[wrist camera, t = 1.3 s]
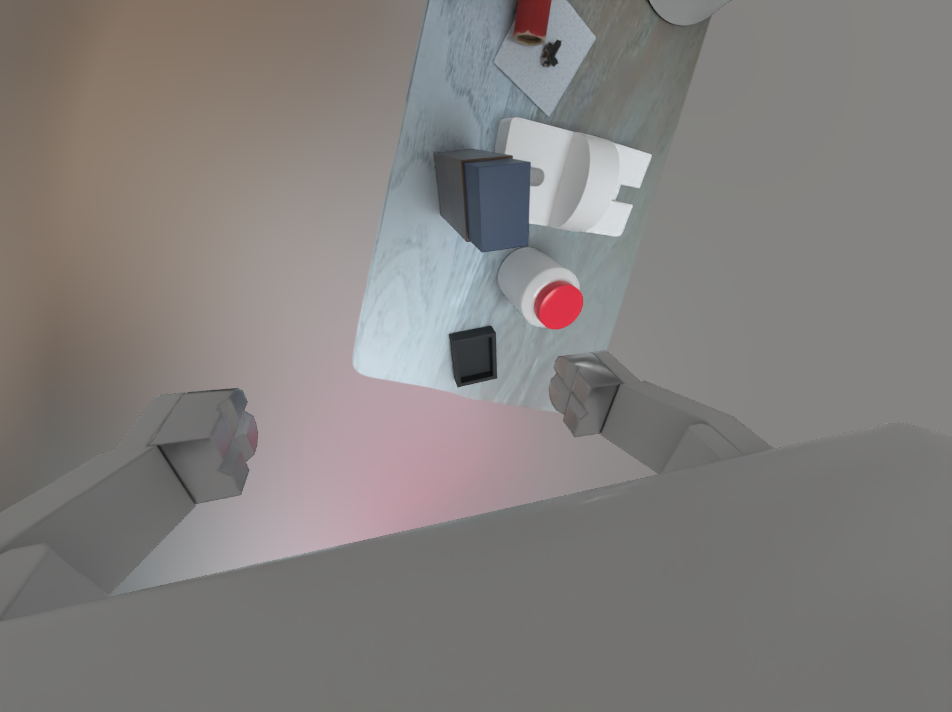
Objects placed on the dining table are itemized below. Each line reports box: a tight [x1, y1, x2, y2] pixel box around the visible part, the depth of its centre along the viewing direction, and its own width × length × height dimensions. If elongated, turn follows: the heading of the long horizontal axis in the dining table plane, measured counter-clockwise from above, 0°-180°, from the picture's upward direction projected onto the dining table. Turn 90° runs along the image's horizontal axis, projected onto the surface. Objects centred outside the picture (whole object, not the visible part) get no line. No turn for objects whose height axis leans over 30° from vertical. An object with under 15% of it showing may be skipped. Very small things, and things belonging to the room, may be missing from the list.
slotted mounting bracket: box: [494, 117, 652, 237], centre depth 38 cm, size 10×18×9 cm, turn 79°
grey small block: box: [493, 0, 596, 117], centre depth 33 cm, size 8×8×2 cm
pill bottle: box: [498, 247, 583, 329], centre depth 43 cm, size 8×8×11 cm
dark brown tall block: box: [434, 149, 513, 242], centre depth 34 cm, size 6×4×12 cm
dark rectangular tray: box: [449, 326, 497, 387], centre depth 51 cm, size 8×6×2 cm
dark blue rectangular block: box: [464, 158, 531, 252], centre depth 27 cm, size 6×4×4 cm, turn 3°
